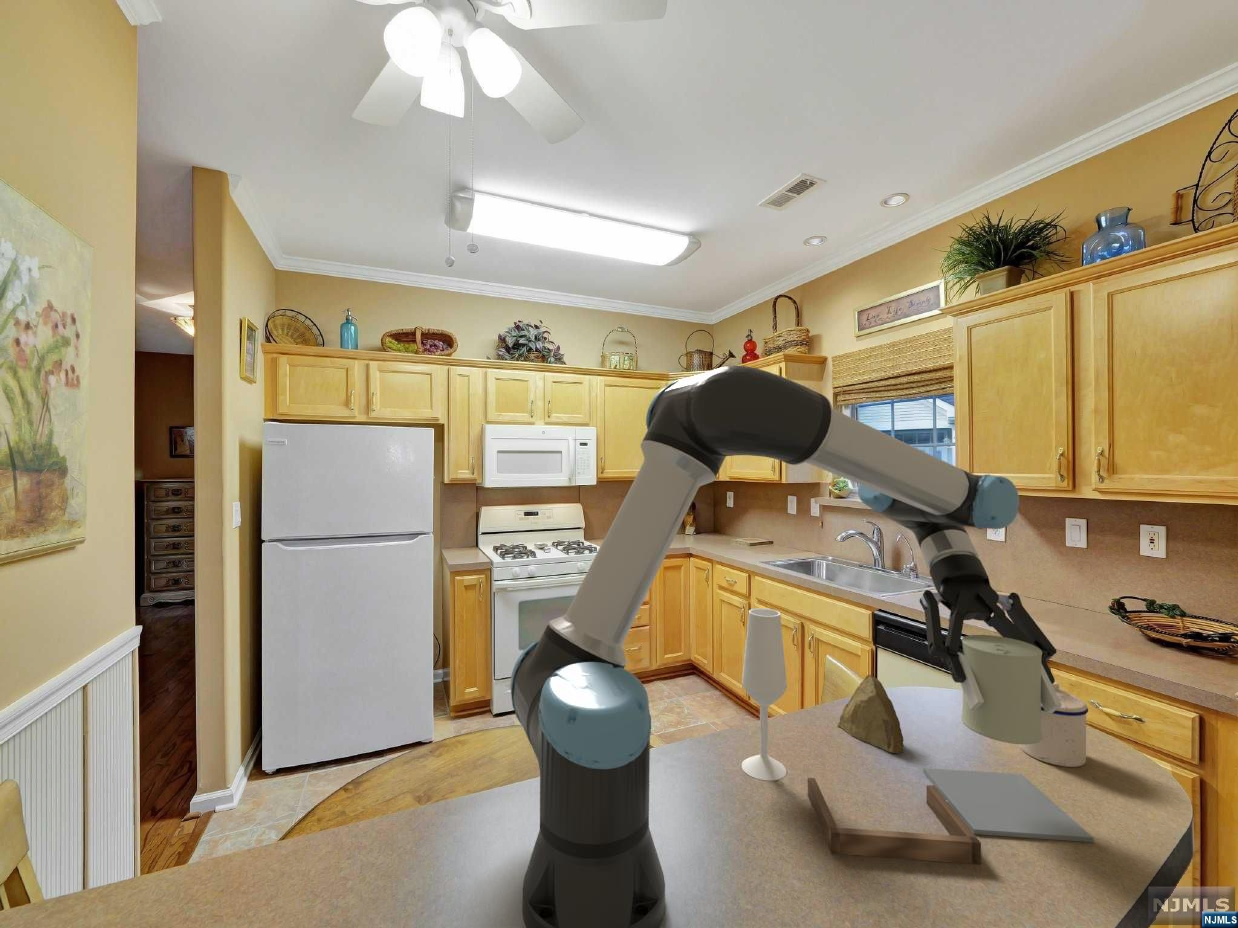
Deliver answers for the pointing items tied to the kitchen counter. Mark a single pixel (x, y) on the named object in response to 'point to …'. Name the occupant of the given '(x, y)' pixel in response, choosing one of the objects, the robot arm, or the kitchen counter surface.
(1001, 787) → the slate tile
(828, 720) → the kitchen counter surface
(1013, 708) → the can
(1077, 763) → the teacup with lid
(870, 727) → the rock
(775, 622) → the champagne flute
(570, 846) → the robot arm
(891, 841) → the walnut stall
